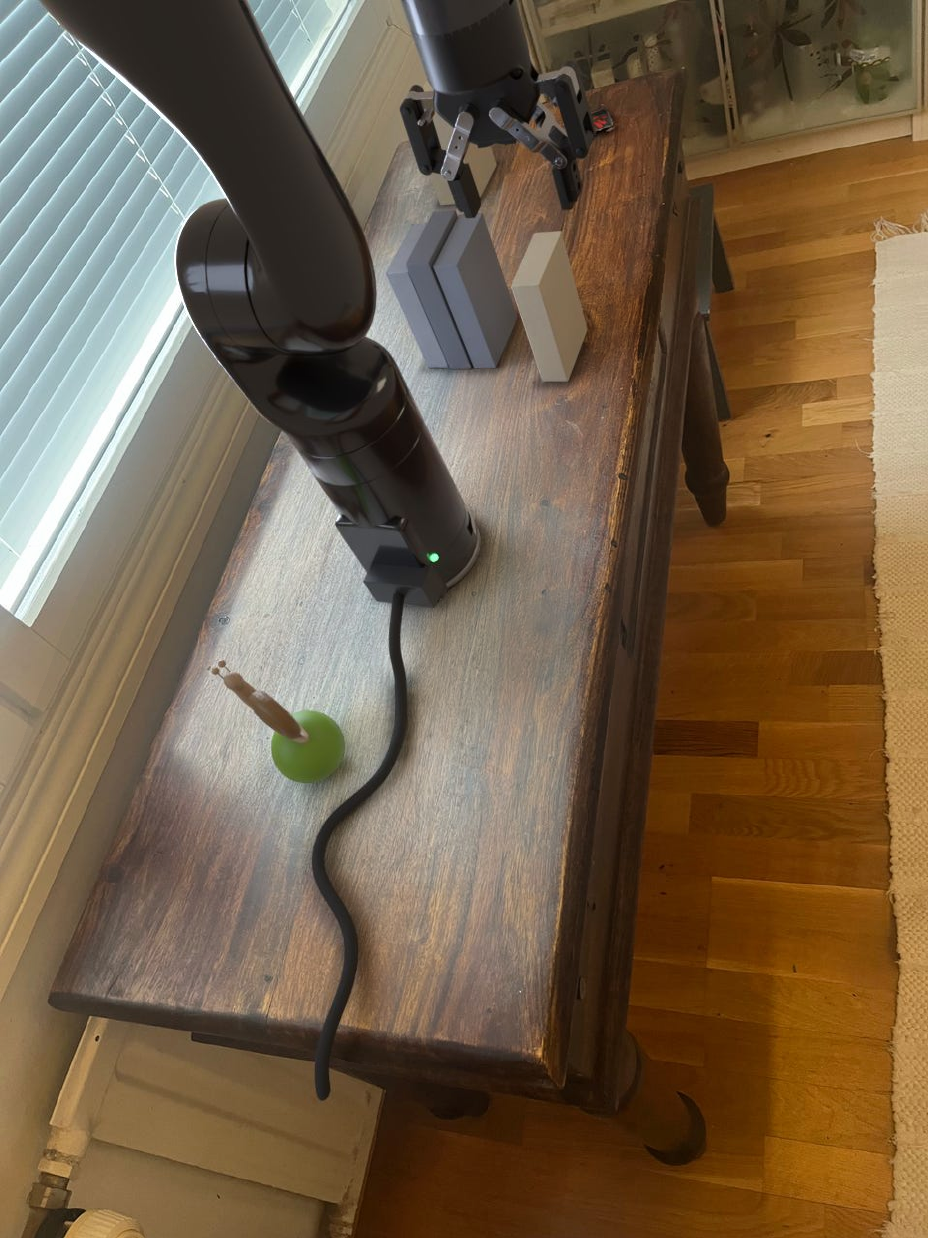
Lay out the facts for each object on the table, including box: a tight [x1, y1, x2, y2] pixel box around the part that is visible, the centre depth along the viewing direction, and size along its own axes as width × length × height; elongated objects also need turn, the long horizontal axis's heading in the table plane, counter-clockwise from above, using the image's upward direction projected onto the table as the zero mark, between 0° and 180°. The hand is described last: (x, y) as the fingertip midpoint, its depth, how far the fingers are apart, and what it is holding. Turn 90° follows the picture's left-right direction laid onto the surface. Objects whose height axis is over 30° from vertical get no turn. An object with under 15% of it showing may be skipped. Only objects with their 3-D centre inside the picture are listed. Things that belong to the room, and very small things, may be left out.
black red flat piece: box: [591, 108, 617, 132], centre depth 108 cm, size 5×5×1 cm
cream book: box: [510, 230, 588, 383], centre depth 84 cm, size 7×3×11 cm, turn 160°
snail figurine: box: [211, 659, 346, 785], centre depth 67 cm, size 5×6×12 cm
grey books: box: [385, 209, 518, 370], centre depth 89 cm, size 7×8×12 cm
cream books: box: [422, 78, 497, 207], centre depth 106 cm, size 7×5×11 cm
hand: (521, 207), depth 76 cm, fingers open, 8 cm apart
